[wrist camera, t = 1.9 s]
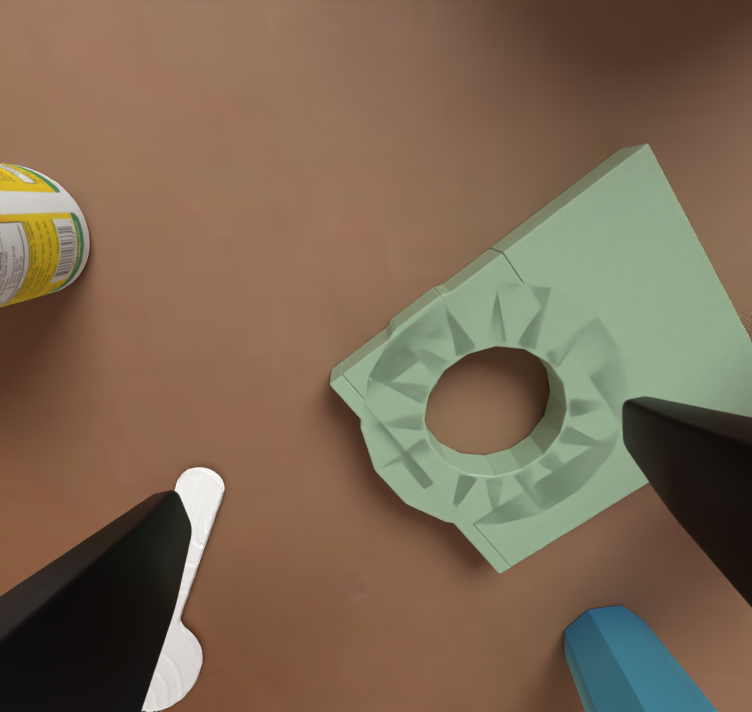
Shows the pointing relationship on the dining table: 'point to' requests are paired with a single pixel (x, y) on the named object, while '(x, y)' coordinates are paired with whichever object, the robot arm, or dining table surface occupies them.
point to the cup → (627, 666)
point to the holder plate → (556, 358)
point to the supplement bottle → (38, 236)
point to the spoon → (186, 593)
